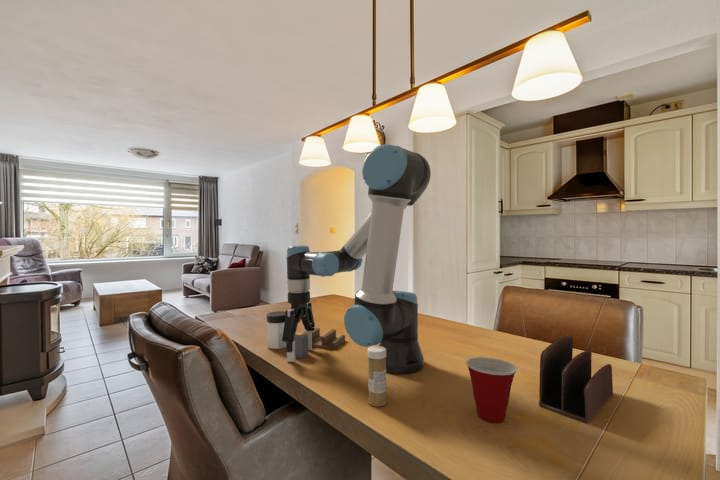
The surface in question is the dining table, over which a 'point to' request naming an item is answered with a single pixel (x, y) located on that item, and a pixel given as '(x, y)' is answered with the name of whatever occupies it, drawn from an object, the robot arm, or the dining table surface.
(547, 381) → the letter holder
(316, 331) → the brown slotted rack
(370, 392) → the sprinkles bottle
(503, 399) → the plastic cup
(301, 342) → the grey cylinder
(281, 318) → the jar
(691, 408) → the dining table surface
